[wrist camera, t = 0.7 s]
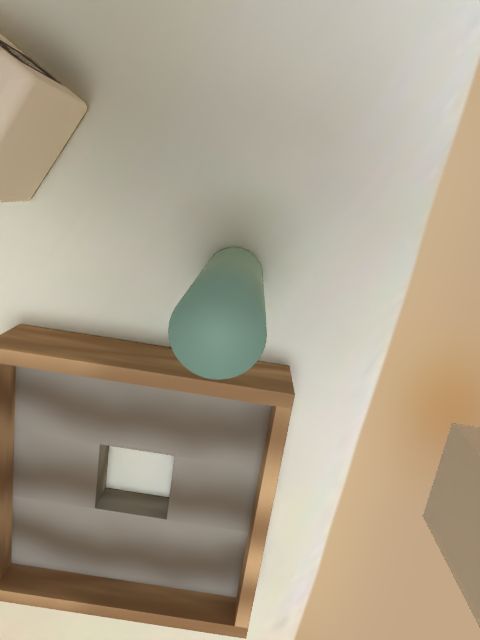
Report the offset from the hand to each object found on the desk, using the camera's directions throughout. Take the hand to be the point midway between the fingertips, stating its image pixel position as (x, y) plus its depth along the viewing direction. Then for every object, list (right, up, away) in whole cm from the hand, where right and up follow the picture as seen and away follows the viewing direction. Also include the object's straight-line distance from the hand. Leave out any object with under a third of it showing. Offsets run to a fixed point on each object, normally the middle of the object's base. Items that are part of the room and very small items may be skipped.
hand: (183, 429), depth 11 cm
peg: (+1, +6, +21) cm, 22 cm away
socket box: (-6, -9, +25) cm, 27 cm away
